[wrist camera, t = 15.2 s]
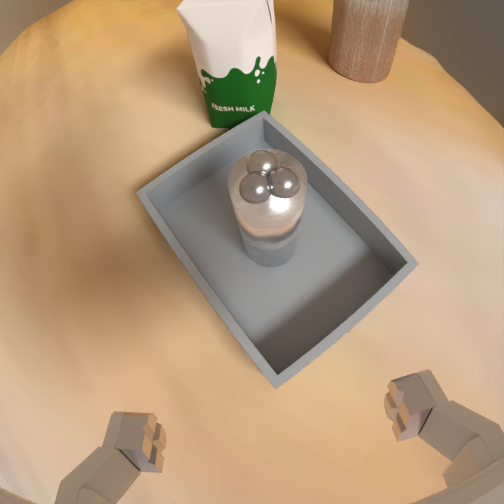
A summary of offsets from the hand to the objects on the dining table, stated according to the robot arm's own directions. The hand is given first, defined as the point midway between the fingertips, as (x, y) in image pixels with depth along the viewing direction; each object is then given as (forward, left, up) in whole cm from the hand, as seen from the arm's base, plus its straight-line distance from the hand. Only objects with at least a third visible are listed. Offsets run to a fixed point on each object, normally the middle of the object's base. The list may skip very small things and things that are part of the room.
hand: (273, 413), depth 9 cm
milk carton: (-28, +17, -19) cm, 37 cm away
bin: (-11, +8, -19) cm, 23 cm away
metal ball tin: (-10, +8, -18) cm, 22 cm away
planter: (-26, +38, -19) cm, 49 cm away
